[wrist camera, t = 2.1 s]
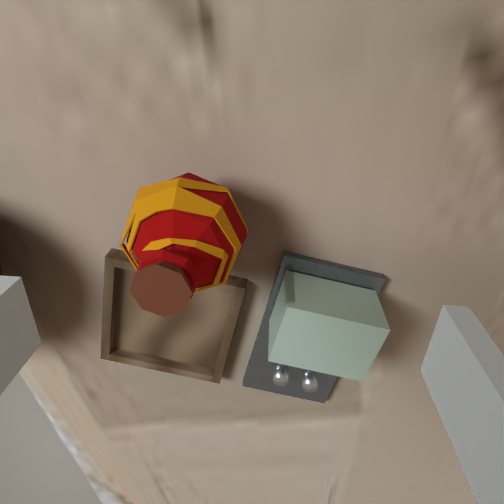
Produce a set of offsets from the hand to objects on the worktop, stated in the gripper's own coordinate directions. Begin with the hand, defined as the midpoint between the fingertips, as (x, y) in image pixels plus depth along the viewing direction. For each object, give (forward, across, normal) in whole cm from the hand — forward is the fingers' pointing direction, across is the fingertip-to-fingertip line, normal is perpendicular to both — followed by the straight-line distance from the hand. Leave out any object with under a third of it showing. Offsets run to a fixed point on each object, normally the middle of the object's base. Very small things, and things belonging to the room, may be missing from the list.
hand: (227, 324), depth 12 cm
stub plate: (+26, +6, -22) cm, 34 cm away
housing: (+24, +7, -17) cm, 31 cm away
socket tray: (+26, -10, -21) cm, 34 cm away
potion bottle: (+26, -6, -6) cm, 27 cm away
